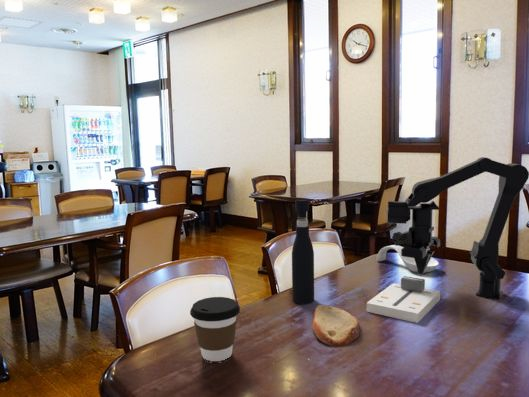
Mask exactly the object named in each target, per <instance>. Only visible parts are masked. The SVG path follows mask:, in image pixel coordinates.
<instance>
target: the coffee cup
mask: <svg viewBox="0 0 529 397" xmlns="http://www.w3.org/2000/svg"><path fill="white" fill-rule="evenodd" d="M240 310H241V306H240V305H239V303H238V302H237V301H236V300H235V299H233V298H230V297H225V296H210V297H205V298H202V299H200V300H197V301H196V302H194V303H193V304H192V307H191V308H190V311H189V313H190V316H191V318H192V319H193V320H194V321H193V324H194V327H195V328H194V330H195V334H196V339H197V342H198V346H199V348H200V353H201V356H202V357H203V360H205V359H206V360H210V361H221V360H225V359H227V358H229V357H230V358H231V357H232V353H233V346H234V344H235V337H236V328H237V321H238V317H237V316H238V315H239V314H240ZM230 358H229V359H230ZM206 360H205V361H206Z"/></svg>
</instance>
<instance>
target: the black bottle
mask: <svg viewBox="0 0 529 397" xmlns="http://www.w3.org/2000/svg"><path fill="white" fill-rule="evenodd" d="M294 205H295V206H294V207H295V212H296V213H297V220H296V226H295V238H294V242H293V244H292V250H291V287H292V292H291V294H292V296H291V297H292V302H293V303H295V304H299V305H311V304H312V303H314V302H315V252H314V247H313V242H312V240H311V236H310V225H309V221H308V215H307V214H308V212H310V200H309V199H306V198H298V199H295V204H294Z"/></svg>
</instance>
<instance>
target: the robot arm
mask: <svg viewBox="0 0 529 397" xmlns="http://www.w3.org/2000/svg"><path fill="white" fill-rule="evenodd" d="M484 173H490V174H492V175H495V176H499V177H498V178H499V179H498V194H497V196H496V199H495V202H494V205H493V208H492V211H491V214H490V215H489V219H488V222H487V224H486V228H485V230H484V233H483V236H482V238H481V239H480V240H479V242H478V241H476V240H473V244H472V248H471V250H470V251H469V254H470V260H471V262H472V263H473V265H474V266H475V267H476V268H477V269H478V270H479V280H478V283H479V284H478V285H479V286H478V289H477V291H476V292H475V296H479V297H483V298H491V299H495V300H496V299H497V300H500V299H501V298H502V297H503V294H504V291H502V290H501V288H502V287H501V286H502V280H503V279H504V277H505V275H506V271H505V270H504V269H503V268H502V267H501V266H499V264H498V262H499V256H500V255H499V254H500V252H499V251H500V250H499V249H500V248H499V247H500V246H499V243H500V240H501V237H502V235H503V232H504V229H505V226H506V224H507V221H508V217H509V215H510V212H511V209H512V208H513V207H512V206H513V204H514V201H515V198H516V197H517V195H518V194H519V193H520V192H521V191H522V189H523V188H524V187H525V185H526V183H527V182H528V180H529V170H528V168H527V167H525V166H524V165H522V164H518V163H513V162H512V163H507V164H506V163H504V162H499V161H496V160H493V159H491V158H488V157H483V156H482V157H479V158H477V159H476V160H475V161H472V162H469V163H468V164H465V165H463V166H460V167H458V168H456V169H454V170H452V171H450V172H447V173H445V174H443V175H441V176H437V177H433V178H429V179H425V180H421V181H418V182H416V183H414V185H413V186H412V189H411V193H410V194H409V195H408V197H407V198H406V199H405V200H404V201H394V200H388V201H387V210H386V223H387V224H407V222H409V221H410V220H412V221H411V223H412V224H411V226H409V228H408V230H406V231H402V232H401V231H396V232H394V233H392V234H393V235H391V242H392V243H394V245H395V246H400V245H402V244H406V243H407V245H405V246H403V247H404V248H403V249H401V256H403V257H411V258H414V259H415V262H416V266H417V269H418V272H417V274H418V275H424V271H425V269H426V267H427V265H428V263H429V261H430V259H431V258H432V257H433V254H434V253H435V250H434V249H433V250H432V249H430V248H431V247H430V246H435V248H439V247H441V239H440V238H439V237H438V236H433V235H432V234H433V231H434V230H435V226H433V210H436V211H439V210H440V207H439V205H437V203H436V202H435V201H434V199H436V198H437V197H439V195H441V194H442V193H443V192H444V191H446V190H448V189H450V188H452V187H453V186H456V185H458V184H460V183H463V182H465V181H468V180H469V179H472V178H474V177H477V176H479V175H481V174H484ZM411 210H412V211H411ZM411 212H412V213H411Z"/></svg>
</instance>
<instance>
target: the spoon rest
mask: <svg viewBox="0 0 529 397" xmlns="http://www.w3.org/2000/svg"><path fill="white" fill-rule="evenodd" d="M404 247H405V246H401V245H398V246H395V244H391V245H387V246H383V247H382V248H380V250H379V251H378V253H377V255H376V262H383V261H386V256H387V251H389V250H395V251H396V253H397V254H398V256H399V257H400V259H401V260H402V262H403V264H404V265H405V266H406V268H408V269H409V270H410V271H411V272H413V271H414V273H418V269H417V266H416V262H415V259H414V258H411V257H403V256H401V249H403V248H404ZM439 266H440V262H439V261H438V260H436V259H434V258H432V257H431V259H430V261H429V263H428V265H427V267H426V269H425V271H424V273H430V272H433V271H434V270H436V269H437V268H438V267H439ZM424 273H423V274H424Z"/></svg>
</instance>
